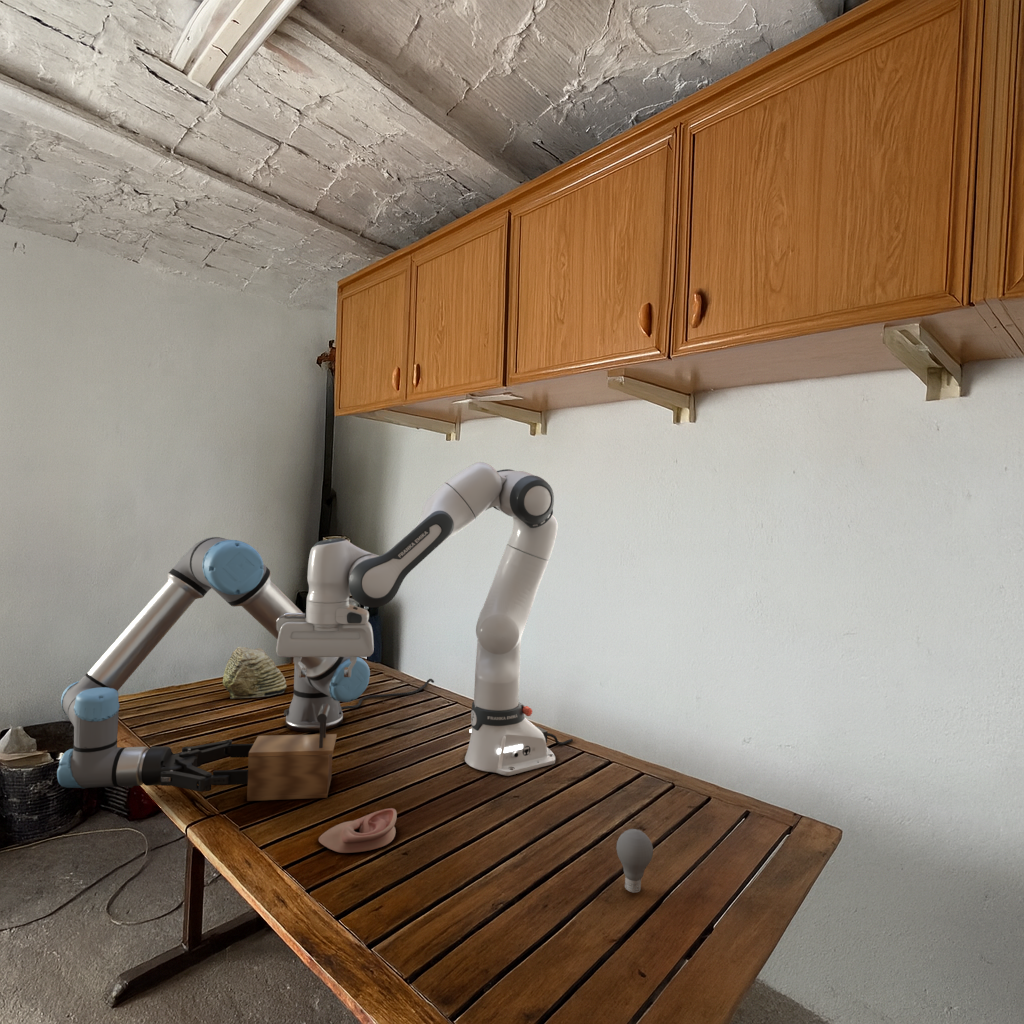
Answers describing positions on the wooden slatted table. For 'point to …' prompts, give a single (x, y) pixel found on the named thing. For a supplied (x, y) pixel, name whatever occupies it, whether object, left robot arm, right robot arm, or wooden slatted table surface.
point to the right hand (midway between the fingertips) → (325, 676)
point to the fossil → (252, 674)
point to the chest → (288, 777)
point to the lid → (297, 742)
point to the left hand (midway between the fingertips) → (255, 762)
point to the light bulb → (634, 857)
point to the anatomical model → (362, 833)
